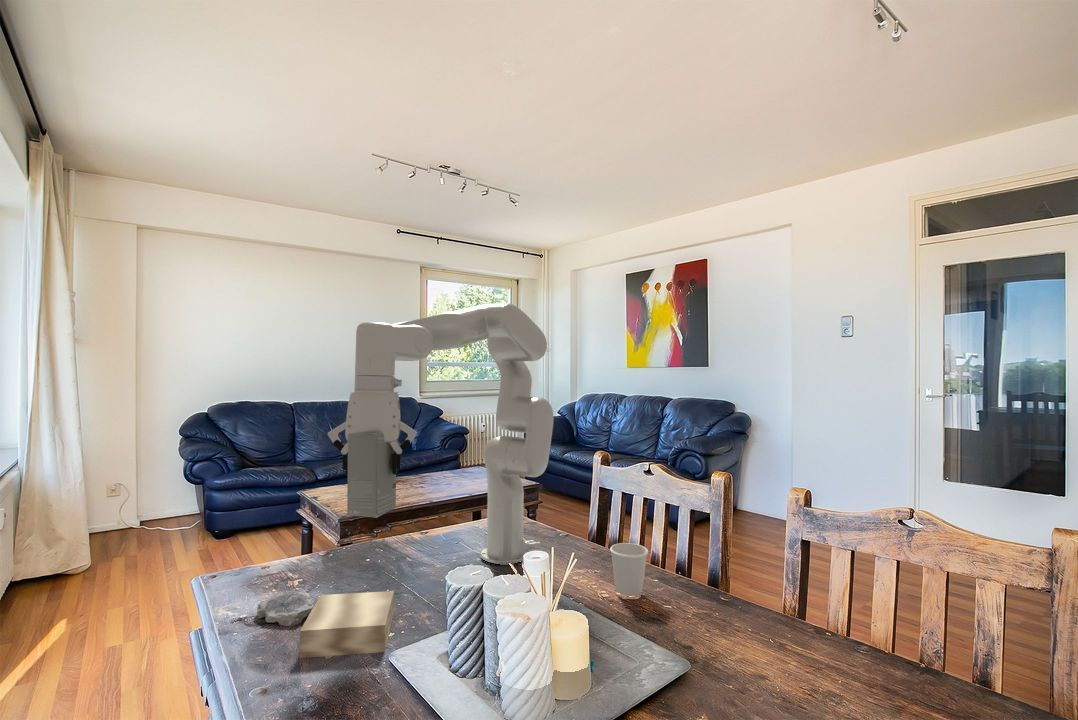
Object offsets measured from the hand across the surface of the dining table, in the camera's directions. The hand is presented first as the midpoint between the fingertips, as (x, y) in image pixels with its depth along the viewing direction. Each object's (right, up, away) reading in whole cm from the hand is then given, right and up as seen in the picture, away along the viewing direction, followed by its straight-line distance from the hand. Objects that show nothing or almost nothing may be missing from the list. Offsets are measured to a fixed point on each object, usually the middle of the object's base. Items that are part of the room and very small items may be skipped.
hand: (371, 473), depth 102 cm
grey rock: (-17, -29, +1) cm, 34 cm away
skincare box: (0, -8, 0) cm, 8 cm away
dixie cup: (+53, -30, +13) cm, 62 cm away
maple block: (-2, -29, -6) cm, 30 cm away
